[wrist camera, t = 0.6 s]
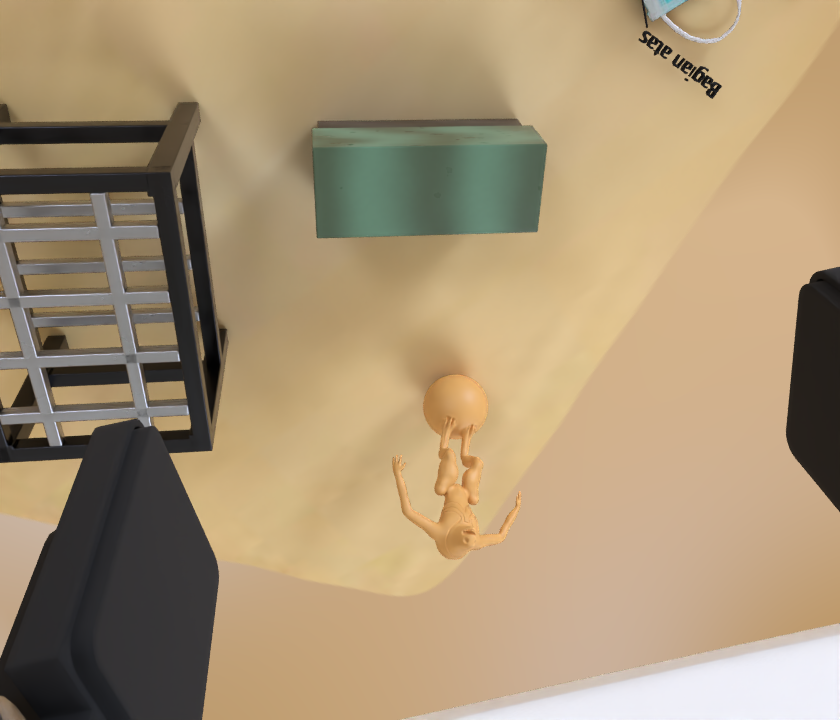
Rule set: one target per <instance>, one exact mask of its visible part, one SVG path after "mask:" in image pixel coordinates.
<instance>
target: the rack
mask: <svg viewBox="0 0 840 720" xmlns="http://www.w3.org/2000/svg"><path fill="white" fill-rule="evenodd" d="M200 122H201V120H200V112H199V104H198V103H197V102H183V103H178V104H177V106H176V108H175V110H174V112H173V114H172V116H171V118H170V120H169V121H87V122H11V120H10V116H9V112H8V108H7V105H6V104H0V144H68V143H138V142H159V143H158V146H157V148H156V150H155V152H154V154H153V156H152V158H151V160H150V162H149V164H148V166H147V167H97V168H40V169H0V279H1V282H2V286H3V289H4V291H0V309H9V310H10V313H11V316H12V320H13V323H14V327H15V330H16V333H17V337H18V340H19V344H20V347H21V350H22V351H17V352H0V370H5V369H27V371H28V375H27V377H26V379H25V381H24V383H23V385H22V387H21V389H20V391H19V393H18V395H17V397H16V399H15V401H14V402H13V404H12V406H11V408H3V406H2V402H1V399H0V463H7V462H26V461H43V460H61V459H78V458H83V457H84V454H85V452H86V449H87V446H88V444H89V441H90V438H91V436H92V435H83V436H64V433H63V429H62V426H61V422H68V421H87V420H106V419H125V418H137V419H138V420H140V421H141V422H142V424H143V425H144V427H148V426H155V425H154V420H153V417H164V416H183V415H189V414H190V420H191V428H190V430H175V431H159V433H160V435H161V437H162V439H163V442H164V444H165V446H166V448H167V451H168V453H182V452H199V451H212V449H213V443H214V436H215V429H216V422H217V416H218V409H219V402H220V396H221V389H222V382H223V376H224V369H225V362H226V356H227V349H228V335H227V329H219V327H218V320H217V312H216V305H215V297H214V290H213V282H212V275H211V267H210V259H209V252H208V244H207V237H206V229H205V222H204V214H203V206H202V199H201V191H200V184H199V176H198V169H197V161H196V154H195V146H194V138H195V136H196V133H197V130H198V127H199V125H200ZM179 181H180V188H181V195H182V198H177V191H176V187H177V185H178V182H179ZM108 192H147V193H148V196H149V197H153V198H154V199H125V200H110V198H109V193H108ZM56 193H90V199H91V200H80V201H35V202H3V201H2V197H1V195H9V194H56ZM183 213H184V215H185V222H186V229H187V236H188V243H189V250H190V255H186V251H185V245H184V238H183V231H182V224H181V218H180V214H183ZM149 214H156V216H157V220H149V221H114V218H113V215H149ZM67 216H94V217H95V222H69V223H30V224H9V223H8V219H7V218H26V217H67ZM155 238H160V240H161V246H162V252H163V256H131V257H121V254H120V249H119V244H118V240H119V239H155ZM83 240H99V241H100V246H101V250H102V255H103V257H98V258H65V259H32V260H19V259H18V255H17V252H16V248H15V244H14V242H47V241H83ZM191 269H192V270H193V277H194V284H195V291H196V297H197V304H198V307H194V305H193V298H192V291H191V285H190V278H189V271H188V270H191ZM162 270H166V276H167V282H168V285H166V286H137V287H127V284H126V279H125V274H124V272H131V271H162ZM100 272H106V274H107V279H108V283H109V287H108V288H79V289H50V290H27V288H26V284H25V281H24V277H23V275H37V274H69V273H100ZM170 302H171V306H172V308H150V309H131V304H155V303H170ZM101 305H113V307H114V310H96V311H70V312H43V313H33V310H32V308H47V307H74V306H101ZM196 321H200V325H201V332H202V338H203V345H204V352H205V356H204V360H202V358H201V352H200V345H199V338H198V332H197V325H196ZM164 322H174V324H175V330H176V336H177V342H178V345H158V346H139V344H138V339H137V334H136V329H135V324H139V323H164ZM114 324H117V326H118V331H119V335H120V340H121V345H122V347H111V348H88V349H69V347H68V344H67V340H66V336H65V335H63V336H48V337H47V338H46V340H45V342H44V344H43V346H42V342H41V339H40V335H39V331H38V327H63V326H88V325H114ZM180 360H181V361H180ZM168 381H184V384H185V390H186V396H187V399H171V400H152V401H150V400H149V395H148V390H147V385H146V383H147V382H168ZM126 383H130V387H131V392H132V397H133V401H132V402H112V403H92V404H72V405H56V404H55V400H54V397H53V393H52V390H51V388H52V387H64V386H85V385H106V384H126ZM35 423H43V425H44V429H45V432H46V435H47V437H46V438H29V435H30V433H31V431H32V429H33V427H34V425H35Z"/></svg>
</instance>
